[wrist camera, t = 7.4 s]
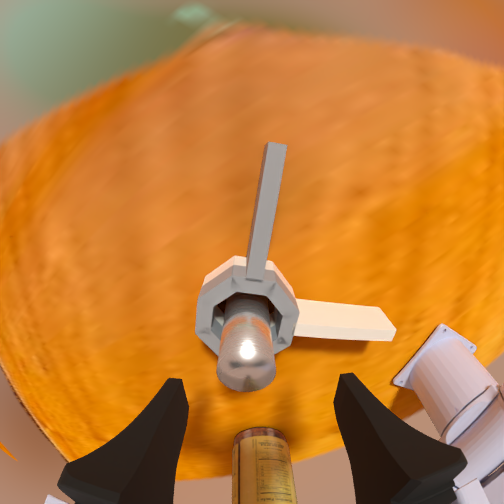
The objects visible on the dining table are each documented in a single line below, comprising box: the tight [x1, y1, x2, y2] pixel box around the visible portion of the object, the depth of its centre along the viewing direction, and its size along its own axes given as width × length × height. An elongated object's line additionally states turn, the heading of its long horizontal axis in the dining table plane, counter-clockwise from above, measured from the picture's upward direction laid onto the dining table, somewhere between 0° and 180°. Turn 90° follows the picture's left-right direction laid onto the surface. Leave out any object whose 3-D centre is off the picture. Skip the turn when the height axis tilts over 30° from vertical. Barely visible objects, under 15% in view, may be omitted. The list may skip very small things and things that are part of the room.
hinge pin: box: [217, 292, 276, 392], centre depth 17 cm, size 3×3×8 cm
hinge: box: [195, 142, 396, 357], centre depth 18 cm, size 14×14×4 cm
